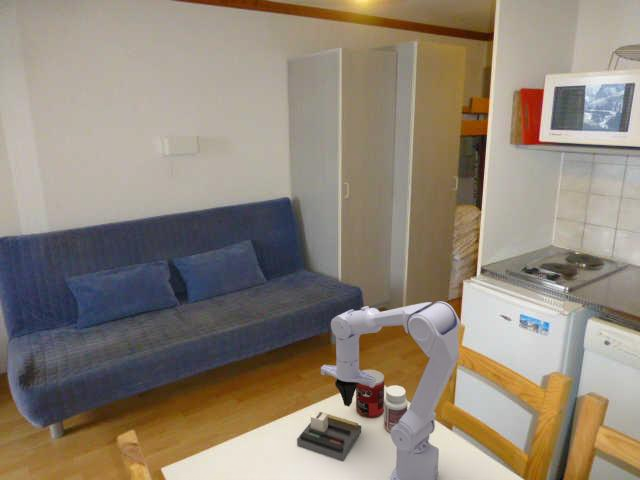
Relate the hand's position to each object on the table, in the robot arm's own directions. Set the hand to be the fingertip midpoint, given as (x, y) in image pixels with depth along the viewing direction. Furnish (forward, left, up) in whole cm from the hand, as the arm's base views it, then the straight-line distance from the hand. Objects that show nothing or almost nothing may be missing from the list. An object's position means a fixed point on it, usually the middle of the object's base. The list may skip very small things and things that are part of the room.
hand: (348, 403), depth 122 cm
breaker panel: (+4, +3, -10) cm, 11 cm away
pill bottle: (-10, -9, -10) cm, 17 cm away
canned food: (-1, -13, -10) cm, 16 cm away
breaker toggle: (+7, +3, -8) cm, 11 cm away
